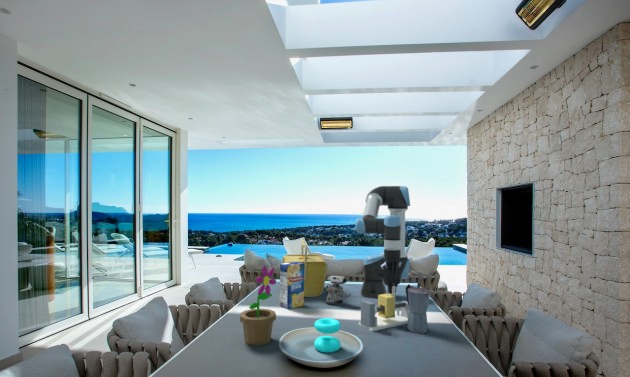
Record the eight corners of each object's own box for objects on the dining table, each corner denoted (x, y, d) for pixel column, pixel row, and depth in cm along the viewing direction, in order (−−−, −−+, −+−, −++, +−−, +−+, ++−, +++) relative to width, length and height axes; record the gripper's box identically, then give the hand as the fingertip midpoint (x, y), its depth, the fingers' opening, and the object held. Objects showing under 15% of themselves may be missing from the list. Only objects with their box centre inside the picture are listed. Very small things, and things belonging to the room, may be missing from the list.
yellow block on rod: (386, 313, 167) (386, 293, 167) (395, 317, 162) (395, 296, 162) (378, 315, 164) (378, 294, 165) (386, 319, 159) (386, 298, 160)
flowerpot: (259, 350, 132) (260, 268, 133) (231, 341, 140) (232, 264, 141) (282, 338, 144) (284, 263, 145) (255, 330, 152) (257, 259, 153)
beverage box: (279, 306, 188) (280, 263, 188) (296, 302, 195) (296, 261, 196) (287, 309, 183) (287, 265, 183) (303, 305, 190) (304, 263, 190)
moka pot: (421, 337, 147) (421, 288, 148) (396, 325, 161) (396, 280, 161) (438, 333, 151) (438, 285, 152) (412, 322, 165) (412, 278, 166)
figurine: (339, 308, 185) (339, 279, 186) (323, 303, 194) (324, 275, 194) (351, 304, 192) (351, 276, 192) (335, 300, 200) (335, 273, 200)
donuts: (311, 318, 139) (335, 316, 141) (310, 344, 138) (335, 341, 141) (318, 327, 129) (344, 324, 132) (318, 355, 129) (344, 352, 131)
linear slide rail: (401, 316, 174) (401, 293, 174) (415, 321, 166) (415, 297, 166) (358, 324, 161) (358, 300, 161) (371, 331, 153) (371, 305, 153)
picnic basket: (281, 286, 232) (282, 239, 233) (321, 285, 235) (321, 239, 236) (282, 298, 203) (283, 245, 204) (327, 297, 206) (328, 245, 207)
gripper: (396, 247, 172) (396, 296, 171) (376, 248, 166) (375, 300, 165) (408, 249, 166) (408, 300, 165) (387, 250, 159) (386, 304, 158)
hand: (391, 300), depth 165 cm, fingers closed
